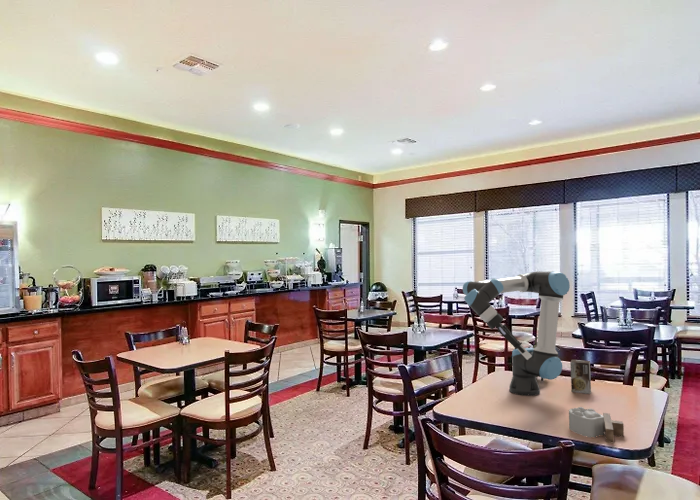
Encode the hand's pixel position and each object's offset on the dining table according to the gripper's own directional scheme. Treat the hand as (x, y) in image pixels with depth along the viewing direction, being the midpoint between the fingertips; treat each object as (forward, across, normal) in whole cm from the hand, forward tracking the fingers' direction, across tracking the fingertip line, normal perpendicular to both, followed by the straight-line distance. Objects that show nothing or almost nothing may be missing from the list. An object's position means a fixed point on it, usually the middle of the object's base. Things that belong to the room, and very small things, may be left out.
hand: (529, 357), depth 202 cm
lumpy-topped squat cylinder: (+34, +10, -3) cm, 35 cm away
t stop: (+40, +10, +5) cm, 42 cm away
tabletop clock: (+21, -68, -13) cm, 72 cm away
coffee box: (+35, -51, +2) cm, 62 cm away
